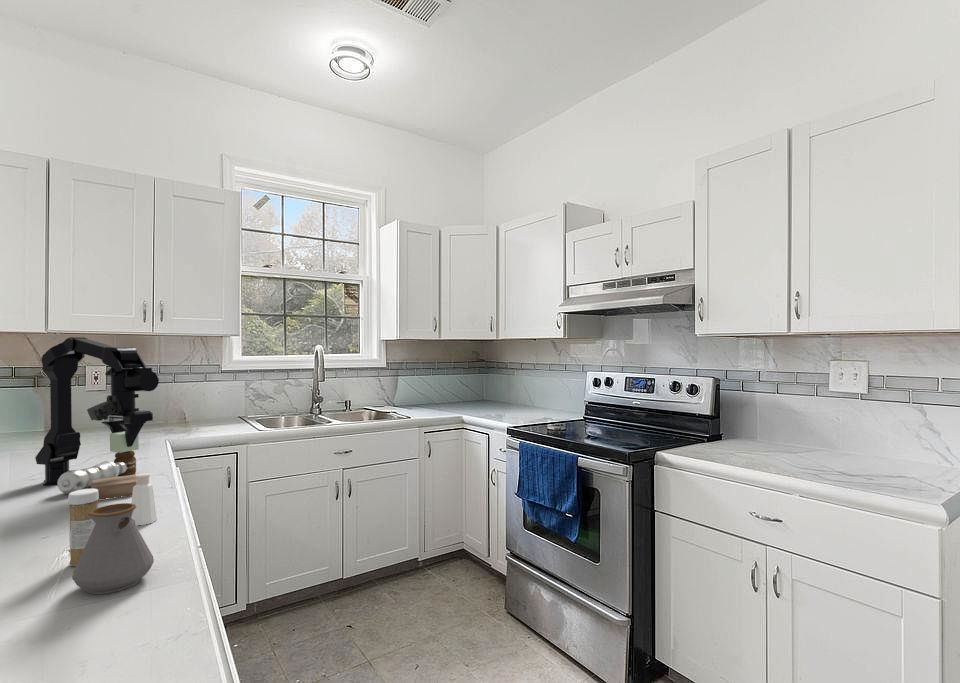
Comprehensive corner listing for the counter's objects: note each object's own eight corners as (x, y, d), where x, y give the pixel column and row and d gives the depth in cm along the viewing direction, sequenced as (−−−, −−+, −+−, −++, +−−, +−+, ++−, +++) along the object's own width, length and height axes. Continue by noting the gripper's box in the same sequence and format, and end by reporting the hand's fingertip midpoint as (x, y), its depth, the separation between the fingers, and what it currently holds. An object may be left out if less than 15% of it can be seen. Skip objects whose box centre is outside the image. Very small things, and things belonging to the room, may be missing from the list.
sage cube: (128, 448, 155) (128, 430, 155) (138, 449, 153) (138, 431, 153) (110, 451, 151) (109, 433, 151) (120, 452, 148) (119, 434, 148)
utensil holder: (109, 475, 167) (108, 437, 167) (129, 471, 173) (128, 434, 173) (121, 477, 165) (121, 438, 165) (141, 472, 171) (141, 435, 171)
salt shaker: (162, 519, 124) (161, 472, 124) (141, 527, 119) (140, 478, 119) (145, 517, 126) (144, 470, 126) (123, 524, 121) (122, 476, 121)
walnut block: (93, 494, 148) (92, 479, 148) (135, 488, 154) (135, 474, 154) (91, 503, 140) (91, 487, 140) (136, 496, 145) (136, 481, 145)
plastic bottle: (74, 471, 145) (130, 456, 165) (52, 473, 145) (110, 457, 165) (76, 495, 145) (132, 477, 164) (53, 496, 145) (111, 478, 165)
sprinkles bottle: (79, 558, 102) (78, 488, 102) (104, 557, 103) (103, 487, 103) (63, 568, 98) (62, 495, 98) (89, 567, 98) (88, 494, 98)
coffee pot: (70, 582, 92) (69, 495, 92) (147, 563, 99) (146, 483, 99) (79, 633, 75) (78, 527, 75) (171, 606, 83) (170, 509, 83)
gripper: (73, 393, 149) (74, 448, 149) (111, 394, 140) (112, 454, 140) (116, 389, 159) (117, 441, 159) (153, 390, 150) (154, 446, 150)
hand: (124, 445), depth 152 cm, fingers closed on sage cube, 5 cm apart
